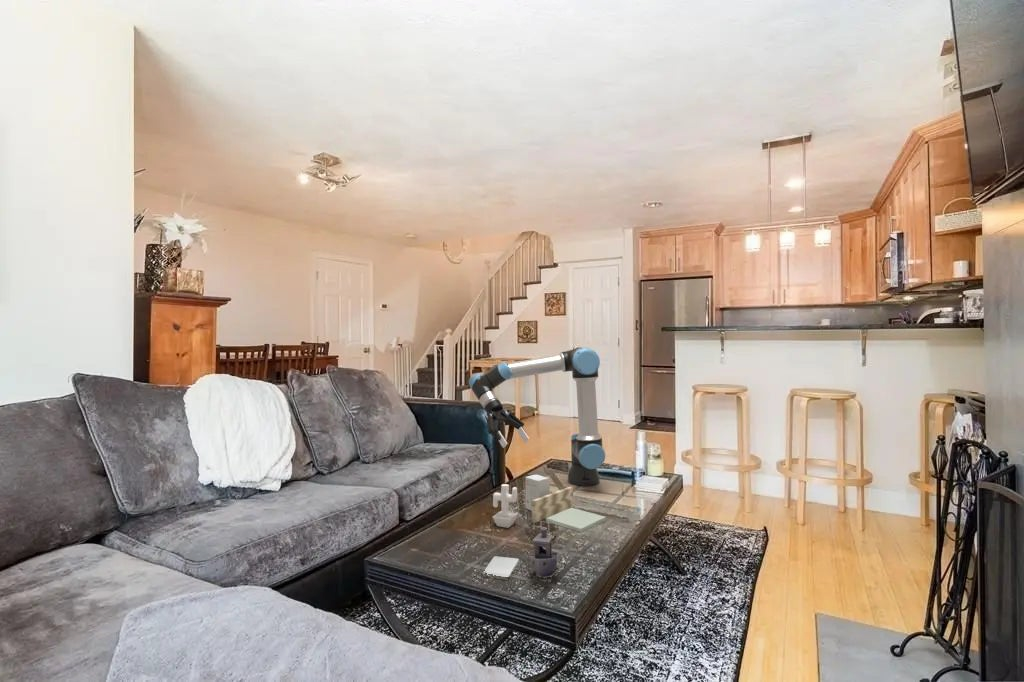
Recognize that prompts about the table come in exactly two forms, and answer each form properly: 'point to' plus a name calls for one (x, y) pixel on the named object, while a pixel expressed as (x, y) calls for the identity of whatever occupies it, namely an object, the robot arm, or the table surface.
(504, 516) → the figurine
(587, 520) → the display plate
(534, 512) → the wooden screen
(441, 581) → the table surface
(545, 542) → the toy boat
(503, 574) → the hard drive
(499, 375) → the robot arm
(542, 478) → the small box
